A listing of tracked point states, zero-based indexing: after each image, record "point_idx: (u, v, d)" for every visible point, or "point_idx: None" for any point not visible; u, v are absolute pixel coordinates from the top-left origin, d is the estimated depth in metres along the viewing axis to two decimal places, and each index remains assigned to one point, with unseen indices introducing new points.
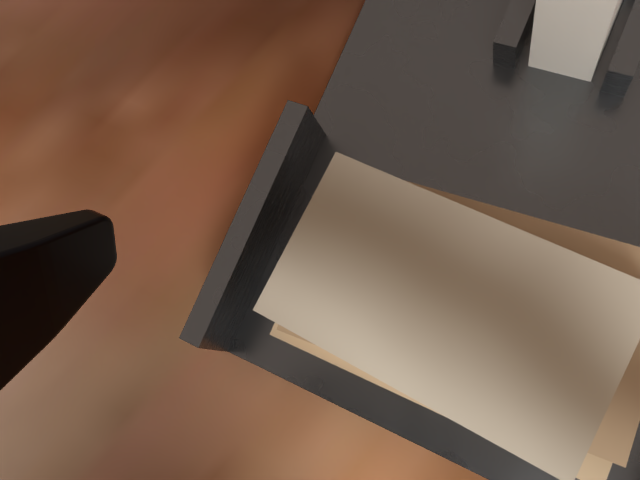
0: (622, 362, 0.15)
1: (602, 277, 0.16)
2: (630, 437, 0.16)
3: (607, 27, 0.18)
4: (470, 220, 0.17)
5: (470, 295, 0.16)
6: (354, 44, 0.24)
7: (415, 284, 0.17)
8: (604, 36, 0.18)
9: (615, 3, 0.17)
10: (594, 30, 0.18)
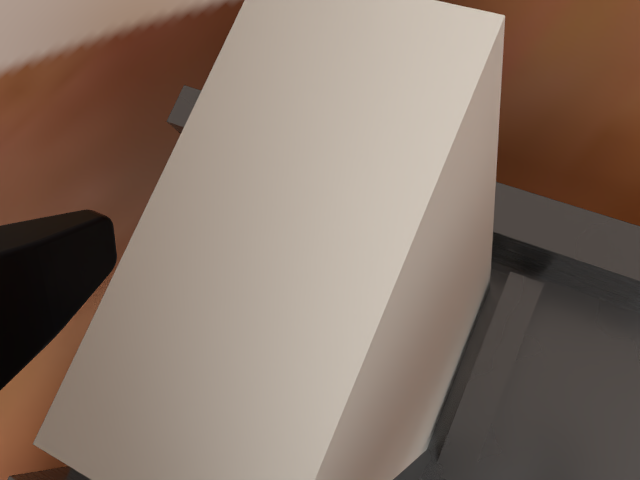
0: None
1: None
2: None
3: (409, 462, 0.12)
4: None
5: None
6: None
7: None
8: (412, 459, 0.13)
9: (402, 468, 0.11)
10: None
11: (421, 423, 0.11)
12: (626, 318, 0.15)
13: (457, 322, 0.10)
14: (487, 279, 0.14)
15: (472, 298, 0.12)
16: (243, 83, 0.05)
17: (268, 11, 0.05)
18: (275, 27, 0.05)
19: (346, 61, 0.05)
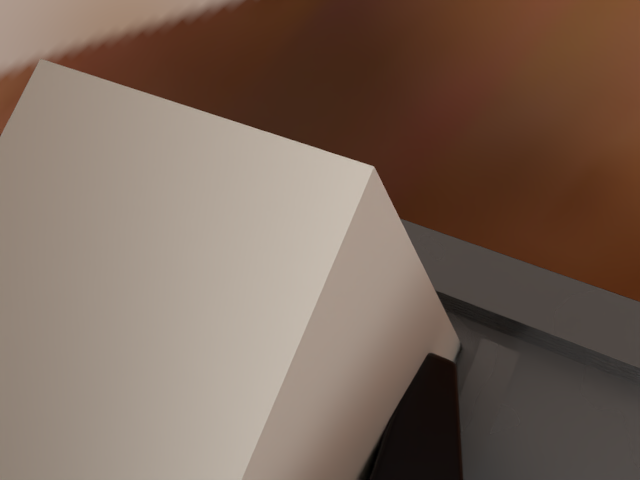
0: None
1: None
2: None
3: None
4: None
5: None
6: None
7: None
8: None
9: None
10: None
11: None
12: (615, 388, 0.13)
13: None
14: (455, 349, 0.12)
15: None
16: None
17: (41, 136, 0.04)
18: (46, 162, 0.03)
19: (137, 226, 0.03)
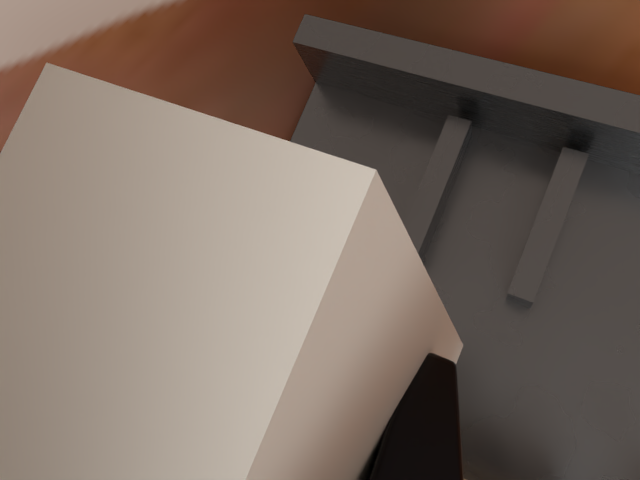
0: None
1: None
2: None
3: None
4: None
5: None
6: None
7: None
8: None
9: None
10: None
11: None
12: None
13: None
14: (455, 348, 0.12)
15: None
16: (2, 252, 0.03)
17: (46, 139, 0.04)
18: (53, 165, 0.03)
19: (144, 228, 0.03)
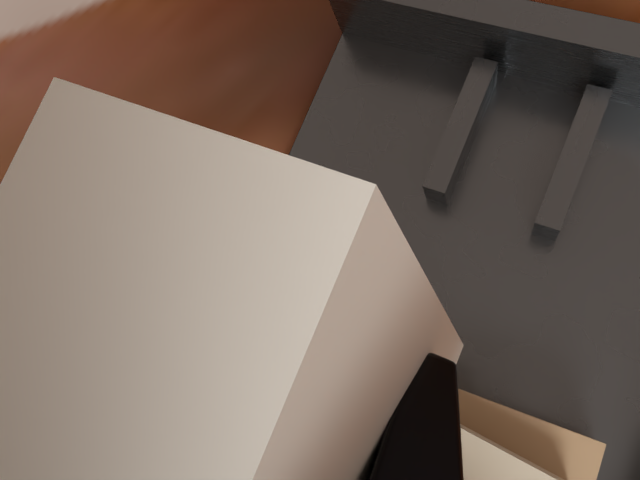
0: None
1: (515, 472, 0.15)
2: None
3: None
4: None
5: None
6: None
7: None
8: None
9: None
10: None
11: None
12: None
13: None
14: (456, 348, 0.12)
15: None
16: (12, 263, 0.04)
17: (55, 153, 0.04)
18: (61, 178, 0.04)
19: (150, 241, 0.03)
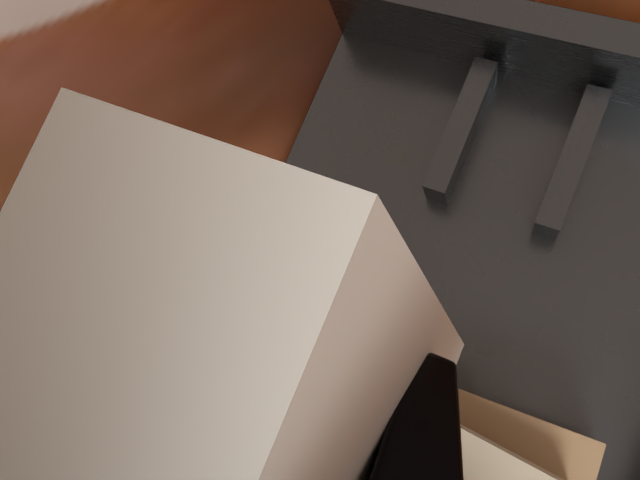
0: None
1: (515, 472, 0.15)
2: None
3: None
4: None
5: None
6: None
7: None
8: None
9: None
10: None
11: None
12: None
13: None
14: (456, 348, 0.12)
15: None
16: (21, 270, 0.04)
17: (62, 163, 0.04)
18: (69, 187, 0.04)
19: (157, 249, 0.03)
